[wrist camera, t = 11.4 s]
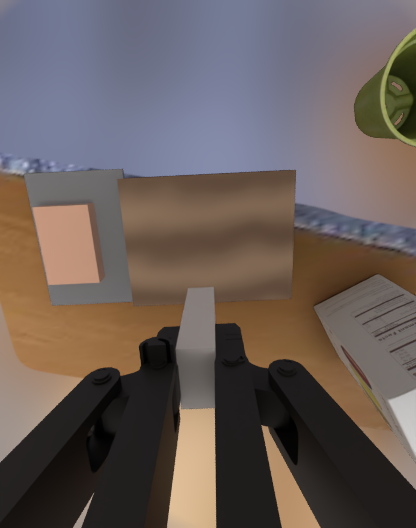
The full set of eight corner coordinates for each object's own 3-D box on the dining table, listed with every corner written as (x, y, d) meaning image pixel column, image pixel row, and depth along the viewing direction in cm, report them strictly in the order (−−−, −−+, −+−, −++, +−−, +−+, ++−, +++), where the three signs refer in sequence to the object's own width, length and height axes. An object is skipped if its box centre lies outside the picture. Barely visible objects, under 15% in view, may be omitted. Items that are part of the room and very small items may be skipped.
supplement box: (311, 305, 39) (384, 398, 23) (378, 271, 38) (504, 343, 22) (340, 361, 42) (425, 479, 26) (404, 330, 41) (535, 434, 24)
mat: (139, 300, 39) (138, 301, 39) (52, 304, 39) (51, 305, 39) (122, 168, 34) (122, 168, 34) (25, 173, 34) (23, 173, 34)
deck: (283, 286, 39) (291, 298, 35) (140, 293, 39) (133, 306, 35) (285, 170, 35) (295, 170, 31) (126, 178, 35) (116, 178, 31)
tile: (48, 285, 36) (56, 279, 38) (99, 282, 36) (104, 276, 38) (32, 207, 33) (41, 205, 35) (87, 204, 33) (93, 202, 35)
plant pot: (319, 125, 33) (357, 110, 25) (373, 36, 31) (435, -13, 23) (387, 169, 35) (444, 168, 26) (443, 87, 32) (526, 58, 24)
